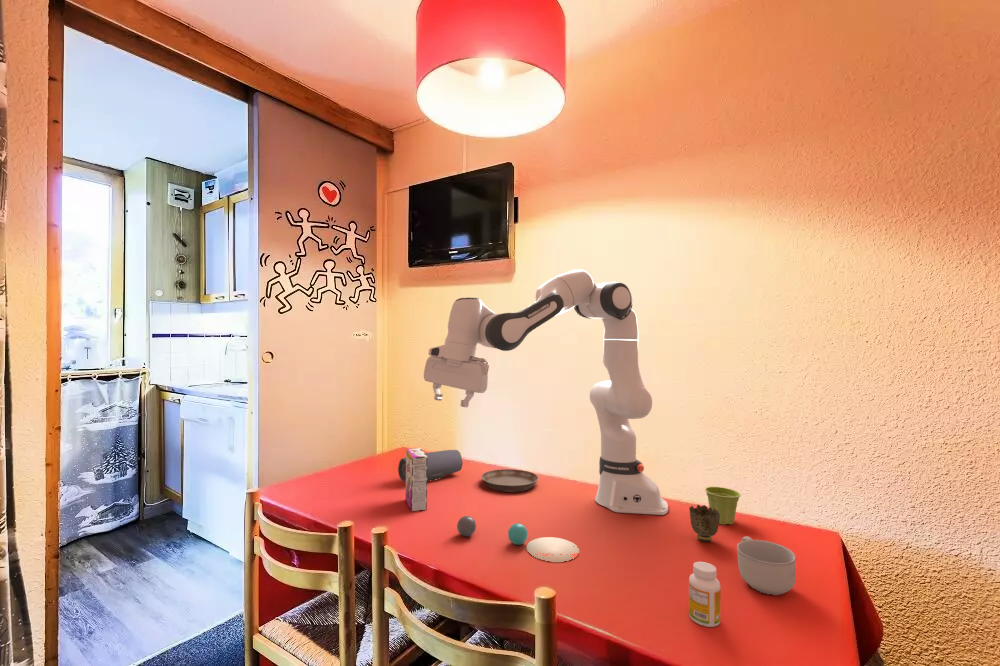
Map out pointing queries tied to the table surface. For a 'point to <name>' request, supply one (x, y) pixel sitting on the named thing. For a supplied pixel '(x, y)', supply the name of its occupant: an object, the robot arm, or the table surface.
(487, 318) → the robot arm
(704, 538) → the cup
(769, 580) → the teacup
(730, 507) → the plant pot
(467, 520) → the gray ball
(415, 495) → the candy bar box
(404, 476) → the bluetooth speaker
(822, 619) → the table surface
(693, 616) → the supplement bottle
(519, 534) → the teal ball
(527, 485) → the plant saucer
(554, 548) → the cream mark
